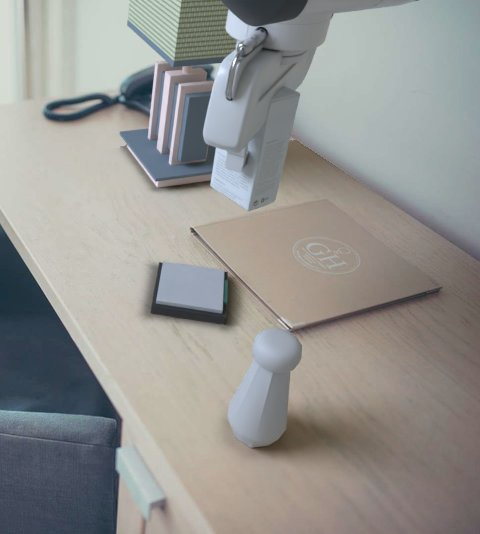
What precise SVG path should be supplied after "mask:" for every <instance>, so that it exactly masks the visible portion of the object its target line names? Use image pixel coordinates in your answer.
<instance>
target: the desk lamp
mask: <svg viewBox="0 0 480 534" xmlns="http://www.w3.org/2000/svg"><path fill="white" fill-rule="evenodd" d="M227 15H228V8H227V7H226V6H225V5H224V4H223V2H222V1H221V0H129V3H128V15H127V24H126V25H127V26H126V27H128V28H129V29H131V30H132V31H133V32H134V33H135V34H136V35H137V36H138V37H139V38H140V39H141V40H142V41H143V42H144V43H146V44H147V45H148V46H149V47H150V48H151V49H152V50H153V51H154V52H155V53H157V54H158V55H159V56H160V57H161V58H162V59H164V60H161V61H159V60H158V61H155V62H154V63H155V64H154V71H153V72H154V73H153V81H152V82H153V83H152V90H151V91H152V92H151V101H150V111H149V120H148V121H149V123H148V127H147V128H139V129H131V130H123V131H119V136H120V137H121V139H122V140H123V141H124V142H125V144H126V148H127V149H128V150H129V151H130V153H131V154H132V156H133V157H134V159H135V160H136V161H137V162H138V164H139V165H140V167H141V168H142V169H143V171H144V172H145V173H146V174H147V176H148V177H149V178H150V180H151V181H152V182H153V184H154V185H155V187H156V188H157V189H159V188H166V187H173V186H180V185H188V184H193V183H201V182H202V183H203V182H209V181H210V182H211V177H212V171H213V164H214V158H215V151H216V147H213V146H210V145H208V144H206V143H205V141H204V137H203V128H204V123H205V119H206V114H207V109H208V105H209V101H210V96H211V92H212V88H213V84H214V81H215V79H214V80H207V78H208V72H207V71H206V70H205V69H204V68H202V67H196V68H193V67H194V66H202V65H204V66H205V65H214V64H215V65H216V64H221V63H222V61H223V60H224V59H225V58H226V57H227V56H228V55H229V54H230V53H232V52H233V51H234V50H235V49H236V43H237V40H236V39H234V38H233V37H231V36H230V35H229V34H228V33H227V31H226V28H225V26H226V20H227Z"/></svg>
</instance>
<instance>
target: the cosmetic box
mask: <svg viewBox="0 0 480 534" xmlns="http://www.w3.org/2000/svg"><path fill="white" fill-rule="evenodd" d="M300 96H301V93H300V92H299V91H297V90H295V91H294V90H292V89H290V88H288V87H286V86H284V87H283V88H282V89H281V90H280V91H279V92H278V93H277V94H276V95H275V96H274V97H273V98H272V99H271V101H270V104H269V108H268V113H267V118H266V122H265V124H264V126H263V127H262V128H261V129H260V130H259V132H258V133H257V134H256V135H255V136H254V137H253V138H252V139H251V141H250V142H249V145H248V151H249V157H248V161H247V165H246V166H245V167H244V168H243V169H242V171H241V172H235V171H232V170H229V169H227V168H226V167H225V161H226V156H227V151H226V150H223V149H219V148H216V151H215V158H214V164H213V171H212V177H211V180H210V185H209V186H210V187H211V188H212V189H214V190H215V191H217V192H218V193H220V194H221V195H223V196H225V197H226V198H228V199H229V200H231V201H232V202H234V203H235V204H236V205H238V206H240V207H241V208H243V209H245V210H246V211H247V212H251V211H256V210H258V209H260V208H263V207H266V206H268V205H271V204H272V203H275V201H276V200H277V196H278V192H279V187H280V183H281V179H282V174H283V170H284V166H285V161H286V159H287V152H288V149H289V145H290V140H291V135H292V131H293V127H294V124H295V120H296V114H297V110H298V106H299V102H300Z"/></svg>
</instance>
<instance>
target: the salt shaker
mask: <svg viewBox="0 0 480 534" xmlns="http://www.w3.org/2000/svg"><path fill="white" fill-rule="evenodd" d="M251 354H252V357H253V361H252V362H251V364H250V366H249V367H248V369H247V371H246V373H245V375H244V377H243V378H242V380H241V381H240V384H239V386H238V387H237V389H236V391H235V392H234V394H233V396H232V397H231V400H230V401H229V403H228V407H227V420H228V422H229V425H230V428H231V430H232V433H233V437H234V438H235V439H236V440H238V441H239V442H241V443H242V444H244V445H246V446H247V447H249V448H250V449H254V448H260V447H267V446H270V445H271V444H273V443H275V442H277V441H278V440H280V438H281V436H283V434H284V432H285V431H286V430H287V427H288V426H287V425H288V413H289V412H288V411H289V400H290V399H289V398H290V385H291V384H290V383H291V372H292V371H294V370H295V369H296V368H297V366H298V365H299V364H300V362H301V360H302V358H303V357H302V355H303V344H302V343H301V341H300V340H299V338H298V337H297V336H296V335H294V334H293V333H292V332H291V331H289V330H286V329H283V328H281V327H280V328H278V327H269V328H266V329H263V330H260V332H259V333H258V334H257V335H255V337H254V339H253V343H252V349H251Z"/></svg>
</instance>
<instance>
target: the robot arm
mask: <svg viewBox="0 0 480 534" xmlns="http://www.w3.org/2000/svg"><path fill="white" fill-rule="evenodd" d="M221 1H222V2H223V4H224V5H225V6H226V7H227V8H228V15H227V20H226V26H225V28H226V31H227V33H228V34H229V35H230V36H231V37H233V38H234V39H236V40H237V43H236V49H235V50H234V51H233V52H232V53H230V54H229V55H228V56H227V57H226V58H225V59H224V60H223V61H222V63H220V65H219V67H218V68H217V72H216V74H215V78H214V80H215V81H214V84H213V88H212V92H211V96H210V101H209V105H208V109H207V114H206V119H205V123H204V128H203V137H204V141H205V143H206V144H208V145H210V146H213V147H216V148H219V149H223V150H226V151H227V156H226V161H225V167H226V168H227V169H229V170H232V171H235V172H241V171H242V169H243V168H244V167H245V166H246V165H247V161H248V157H249V151H248V145H249V142H250V141H251V139H252V138H253V137H254V136H255V135H256V134H257V133H258V132H259V130H260V129H261V128H262V127H263V126H264V124H265V122H266V118H267V113H268V108H269V104H270V101H271V99H272V98H273V97H274V96H275V95H276V94H277V93H278V92H279V91H280V90H281V89H282V88H283V87H284V86H286V87H288V88H290V89H292V90H294V91H297V89H299V87H300V86H301V85H302V84H303V82H304V80H305V79H306V77H307V74H308V73H309V70H310V68H311V65H312V62H313V59H314V57H315V54H316V51H317V49H318V47H320V46H322V45H323V44H324V43H325V42H326V39H327V34H328V32H329V27H330V24H331V20H332V19H333V17H334V15H335V14H341V13H351V12H361V11H365V10H366V11H367V10H374V9H375V10H376V9H381V8H390V7H397V6H403V5H406V4H410V3H413V2H417V1H419V0H221Z"/></svg>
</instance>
